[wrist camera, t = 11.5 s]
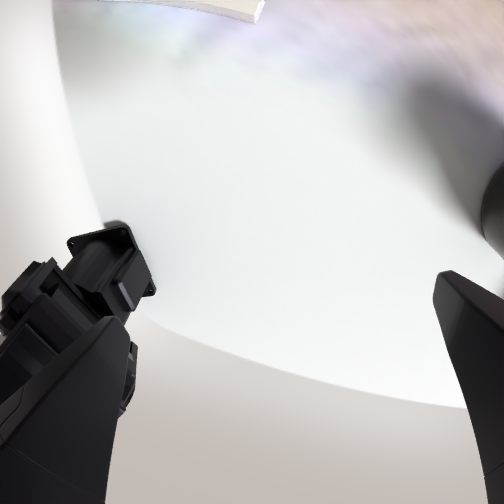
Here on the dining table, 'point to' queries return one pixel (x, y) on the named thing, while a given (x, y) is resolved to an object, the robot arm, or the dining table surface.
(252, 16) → the trivet
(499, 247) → the ink bottle
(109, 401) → the robot arm
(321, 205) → the dining table surface
